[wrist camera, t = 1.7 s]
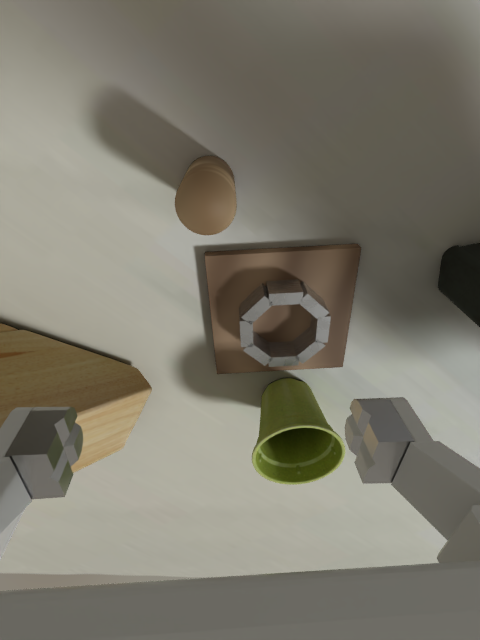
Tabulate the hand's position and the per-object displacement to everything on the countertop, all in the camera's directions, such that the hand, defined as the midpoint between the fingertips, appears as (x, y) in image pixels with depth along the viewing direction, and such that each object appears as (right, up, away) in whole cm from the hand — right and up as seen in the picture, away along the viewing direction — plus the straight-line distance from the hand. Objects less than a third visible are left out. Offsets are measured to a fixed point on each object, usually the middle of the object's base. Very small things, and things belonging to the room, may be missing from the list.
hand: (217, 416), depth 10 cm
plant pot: (+6, -6, +32) cm, 33 cm away
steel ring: (+5, +4, +25) cm, 26 cm away
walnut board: (+5, +4, +25) cm, 26 cm away
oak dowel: (-2, +14, +18) cm, 23 cm away
